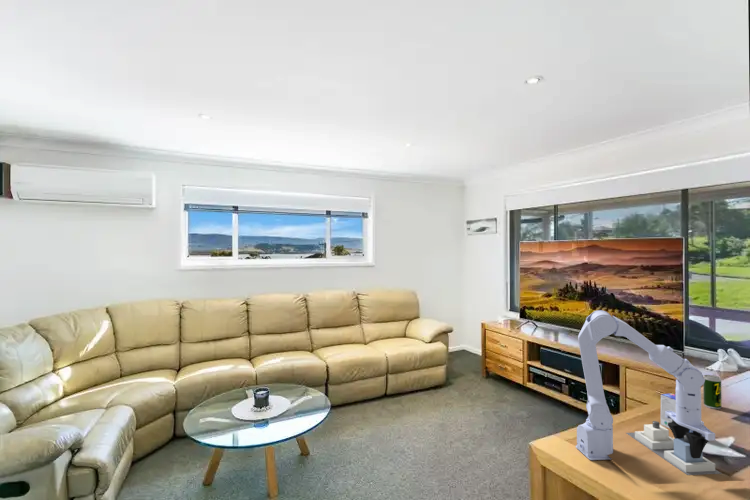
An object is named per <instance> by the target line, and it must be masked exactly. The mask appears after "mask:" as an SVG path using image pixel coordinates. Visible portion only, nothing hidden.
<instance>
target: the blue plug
mask: <svg viewBox="0 0 750 500" xmlns="http://www.w3.org/2000/svg"><path fill="white" fill-rule="evenodd" d="M673 439H674V455H675V456H676V457H678V458H680V459H681V460H683V461H684V462H686V463H696V462H703V457H704V456H703V451H702V454H701V457H700V458H692V457H691V453H690V444H689V440H688V438H687V435H684V438H678V439H675V438H673Z"/></svg>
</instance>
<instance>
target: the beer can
mask: <svg viewBox="0 0 750 500" xmlns="http://www.w3.org/2000/svg"><path fill="white" fill-rule="evenodd" d="M703 378H704V379H705V382H704V384H703V385H702V387H703V390H702V391H703V393H702V394H703V404H704V407H705V408H707V409H713V410H721V408H722V403H723V402H722V401H723V400H722V379H721V377H720V376H718V375H715V374H713V375H712V374H704V375H703Z"/></svg>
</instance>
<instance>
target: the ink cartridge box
mask: <svg viewBox="0 0 750 500" xmlns="http://www.w3.org/2000/svg"><path fill="white" fill-rule="evenodd" d="M665 411H673V412H675V413H676V393H671V392H670V393H669V392H668V393H663V394H660V425H661V426H663V427H665V428H666V429H667V428H668V429H670V427H669V426H668V423H669V422H672V419H670V418H666V417H665ZM689 432H692V433H693V431H692V430H689Z"/></svg>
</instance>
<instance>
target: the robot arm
mask: <svg viewBox="0 0 750 500" xmlns="http://www.w3.org/2000/svg"><path fill="white" fill-rule="evenodd" d="M610 335H614V336H615V337H624V338H627V339H628V340H629V341H630V342H632V343H633V344H634V345H637V346H638V347H639V348H640V349H643V351H645V352H647V353H648V358H649V360H650V361H651V362H653V363H654V364H656V365H657V366H658V367H660V368H661V369H663V371H665V372H666V373H668V374H669V375H672V376H673V377H674V379H675V378H676V379H675V394H676V413H675V412H673V411H665V417H666V418H670V419H672V422H669V423H668V426H669V427H670V428H669V429H670V430H671V433H672V435H673V439H678V438H684V435H687V438H688V440H689V444H690V453H691V457H692V458H700V457H701V454H702V452H703V451H704V449H705V446H706V445H707V444H708V443H709V442H710V441H716V433H715V432H713V431H712V430H710V429H709V428H708V427H707V426H705V422H704V421H702V389H701V388H702V387H703V384H704V382H705V379H704V378H703V377H704V375H703V373H702V372H701V371H700V369H698V368H697V367H696V366H694V365H693V364H692V363H691V362H690V360H688V359H687V358H683V357H681V356H680V355H679V354H677V353H676V352H674V350H675V349H674V348H672V347H671V346H666V345H664V344H655V343H654V342H652V341H651V340H649V338H647V337H645V336H644V335H643V334H642V333H641V332H639V331H638V330H636V329H635V328H633V327H632V326H630V325H629V324H628V323H627V322H625V321H624V320H622V319H620V318H618V317H616V316H615V315H611V314H610V313H609V312H608V311H606V310H602V309H598V310H594V311H593V312H591V313H590V314H589V315H587V316H586V318H585V322H584V323H583V325H582V327H581V330H580V331H579V333H578V336H577V340H578V346H579V353H580V357H581V364H582V369H583V375H584V381H585V386H586V387H585V388H586V391H587V392H586V393H587V402H586V406H585V407H586V411H587V415H588V416H587V417H586V419H585V422H583V423H582V424H578V426H577V427H576V445H575V448H576V449H577V450H578V451H580V453H582V455H583V456H585V458H587V459H588V460H590V461H597V460H598V461H602V460H603V461H604V460H605V461H606V460H607V461H608V460H613V458H612V457H610V456H609V455H612V454H614V429H613V428H614V425H613V423H614V417H613V415H612V414H611V411H610V408H609V406H608V403H607V400H606V396H605V392H604V387H603V379H602V374H601V369H600V363H599V357H598V353H597V346H596V345H597V344H598V343H599V342H600V341H601V340H602V339H603V338H606V337H608V336H610ZM689 430H692V431H693V433H692V432H689Z"/></svg>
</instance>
